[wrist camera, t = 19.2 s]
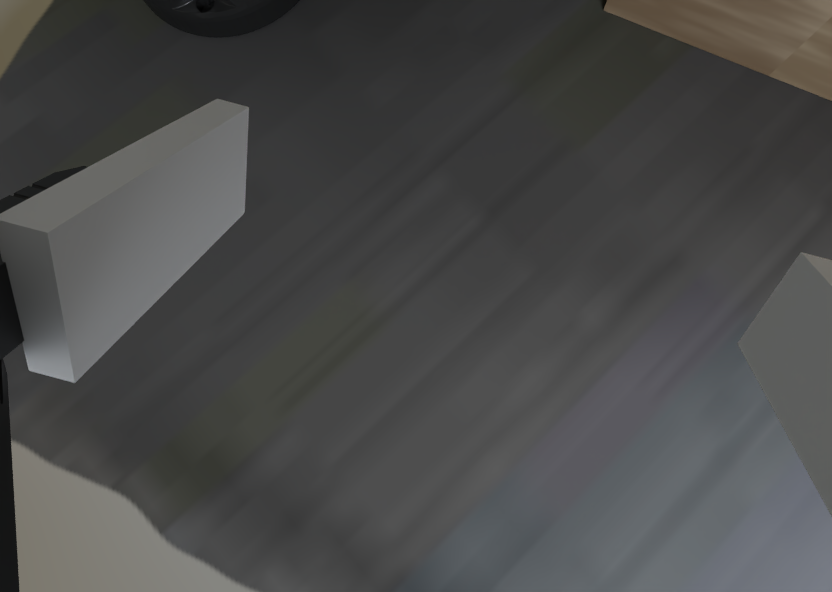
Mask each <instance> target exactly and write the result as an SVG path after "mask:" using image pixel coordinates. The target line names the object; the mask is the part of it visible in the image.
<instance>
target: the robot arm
mask: <svg viewBox="0 0 832 592" xmlns="http://www.w3.org/2000/svg"><path fill="white" fill-rule="evenodd" d="M298 1H299V0H144V2H145V3H146V4H147V5H148V6H149V7H150V8H151V10H152V11H153V12H154V13H155V14H156V15H158V16H159V17H160V18H161V19H162V20H164V21H165V22H167V23H168V24H170V25H172V26H174V27H175V28H178V29H180V30H182V31H185V32H188V33H191V34H195V35H200V36H207V37H228V36H236V35H241V34H245V33H248V32H251V31H254V30H257V29H260V28H262V27H264V26H266V25H268V24H270V23H272V22H273V21H275V20H277V19H278V18H280V17H281V16H282V15H284V14H285V13H286V12H288V11H289V10H290V9H291V8H292V7H293V6H294V5H295V4H296V3H297V2H298ZM248 117H249V107H247V106H243V105H239V104H235V103H231V102H227V101H224V100H220V99H216V100H214V101H212V102H210V103H208V104H206V105H204V106H202V107H201V108H199V109H197V110H195V111H193V112H191V113H189V114H187V115H186V116H184V117H182V118H180V119H178V120H176V121H174V122H172V123H170V124H169V125H167V126H165V127H163V128H161V129H159V130H157V131H155V132H153V133H152V134H150V135H148V136H146V137H144V138H142V139H140V140H138V141H136V142H135V143H133V144H131V145H129V146H127V147H125V148H123V149H121V150H119V151H118V152H116V153H114V154H112V155H110V156H108V157H106V158H104V159H102V160H101V161H99V162H97V163H95V164H93V165H91V166H89V167H86V166H82V167H77V168H73V169H69V170H64V171H60V172H56V173H53V174H51V175H49V176H47V177H45V178H43V179H41V180H39V181H37V182H35V183H33V185H32V187H30V186H27V187H25V188H23V189H21V190H19V191H17V192H15V193H14V196H10V195H9V196H7V197H5V198H3V199H1V200H0V592H19V577H18V559H17V541H16V524H15V506H14V488H13V470H12V453H11V434H10V417H9V399H8V381H7V372H6V368H5V365H4V361H3V358H4V357H5V356H6V355H7V354H8V353H10V352H11V351H12V350H13V349H15V348H16V347H17V346H18V345H19V344H21V343H22V344H23V348H24V352H25V356H26V360H27V364H28V369H29V371H32V372H36V373H40V374H44V375H47V376H51V377H55V378H58V379H62V380H66V381H70V382H73V383H75V382H76V381H77V380H78V379H79V378H80V377H81V376H82V375H83V374H84V373H85V372H86V371H87V370H88V369H89V368H90V367H91V366H92V365H93V364H94V363H95V362H96V361H97V360H98V359H99V358H100V357H101V356H102V355H103V354H104V353H105V352H106V351H107V350H108V349H109V348H110V347H111V346H112V345H113V344H114V343H115V342H116V341H117V340H118V339H119V338H120V337H121V336H122V335H123V334H124V333H125V332H126V331H127V330H128V329H129V328H130V327H131V326H132V325H133V324H134V323H135V322H136V321H137V320H138V319H139V318H140V317H141V316H142V315H143V314H144V313H145V312H146V311H147V310H148V309H149V308H150V307H151V306H152V305H153V304H154V303H155V302H156V301H157V300H158V299H159V298H160V297H161V296H162V295H163V294H164V293H165V292H166V291H167V290H168V289H169V288H170V287H171V286H172V285H173V284H174V283H175V282H176V281H177V280H178V279H179V278H180V277H181V276H182V275H183V274H184V273H185V272H186V271H187V270H188V269H189V268H190V267H191V266H192V265H193V264H194V263H195V262H196V261H197V260H198V259H199V258H200V257H201V256H202V255H203V254H204V253H205V252H206V251H207V250H208V249H209V248H210V247H211V246H212V245H213V244H214V243H215V242H216V241H217V240H218V239H219V238H220V237H221V236H222V235H223V234H224V233H225V232H226V231H227V230H228V229H229V228H230V227H231V226H232V225H233V224H234V223H235V222H236V221H237V220H238V219H239V218H240V217H241V216H242V215H243V214H244V213H245V189H246V165H247V141H248ZM737 344H738V346H739V348H740V349H741V351H742V353H743V355H744V357H745V358H746V360H747V362H748V364H749V366H750V368H751V369H752V371H753V373H754V375H755V377H756V379H757V380H758V382H759V384H760V386H761V388H762V390H763V391H764V393H765V395H766V397H767V399H768V401H769V402H770V404H771V406H772V408H773V410H774V412H775V413H776V415H777V417H778V419H779V421H780V423H781V424H782V426H783V428H784V430H785V432H786V434H787V435H788V437H789V439H790V441H791V443H792V445H793V446H794V448H795V450H796V452H797V454H798V455H799V457H800V459H801V461H802V463H803V465H804V466H805V468H806V470H807V472H808V474H809V476H810V477H811V479H812V481H813V483H814V485H815V487H816V488H817V490H818V492H819V494H820V496H821V498H822V499H823V501H824V503H825V505H826V507H827V509H828V510H829V512H830V514H831V516H832V260H829V259H825V258H821V257H817V256H813V255H810V254H806V253H802V252H801V253H800V254H799V256H798V257H797V259H796V260H795V261H794V263H793V264H792V266H791V267H790V269H789V270H788V271H787V273H786V274H785V276H784V277H783V279H782V280H781V282H780V283H779V284H778V286H777V287H776V289H775V290H774V292H773V293H772V294H771V296H770V297H769V299H768V300H767V302H766V303H765V305H764V306H763V307H762V309H761V310H760V312H759V313H758V315H757V316H756V317H755V319H754V320H753V322H752V323H751V325H750V326H749V328H748V329H747V330H746V332H745V333H744V335H743V336H742V338H741V339H740V340H739V342H738V343H737Z"/></svg>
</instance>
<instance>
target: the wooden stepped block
mask: <svg viewBox="0 0 832 592" xmlns="http://www.w3.org/2000/svg"><path fill="white" fill-rule="evenodd" d="M604 11H606V12H609V13H611V14H614V15H616V16H619V17H621V18H624V19H627V20H629V21H632V22H634V23H637V24H639V25H642V26H644V27H647V28H649V29H652V30H654V31H657V32H659V33H662V34H664V35H667V36H669V37H672V38H674V39H677V40H679V41H682V42H684V43H687V44H690V45H692V46H695V47H697V48H700V49H702V50H705V51H707V52H710V53H712V54H715V55H717V56H720V57H722V58H725V59H727V60H730V61H732V62H735V63H737V64H740V65H742V66H745V67H748V68H750V69H753V70H755V71H758V72H760V73H763V74H765V75H768V76H770V77H773V78H775V79H778V80H780V81H783V82H785V83H788V84H790V85H793V86H795V87H798V88H800V89H803V90H806V91H808V92H811V93H813V94H816V95H818V96H821V97H823V98H826V99H828V100H831V101H832V0H607V2H606V5H605V7H604Z"/></svg>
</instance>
